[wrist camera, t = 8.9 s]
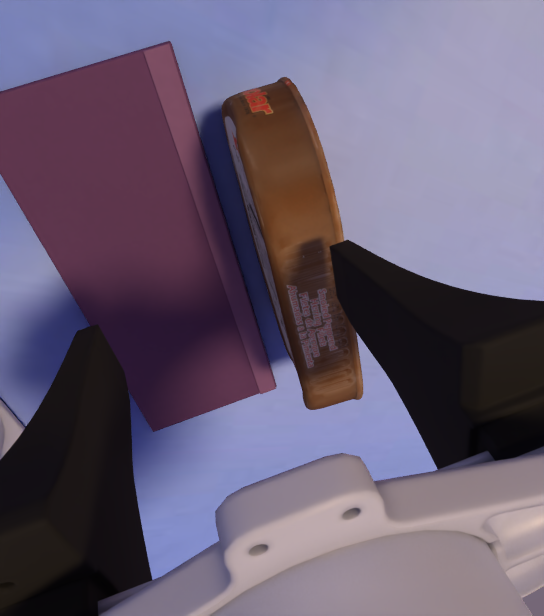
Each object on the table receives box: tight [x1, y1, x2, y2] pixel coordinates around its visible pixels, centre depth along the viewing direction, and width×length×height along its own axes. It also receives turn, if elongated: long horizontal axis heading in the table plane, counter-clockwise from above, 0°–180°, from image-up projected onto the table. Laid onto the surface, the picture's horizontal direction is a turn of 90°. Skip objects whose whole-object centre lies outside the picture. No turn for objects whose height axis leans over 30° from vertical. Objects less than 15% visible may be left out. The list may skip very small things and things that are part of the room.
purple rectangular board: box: [0, 41, 276, 432], centre depth 26 cm, size 8×20×1 cm, turn 12°
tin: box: [222, 77, 363, 410], centre depth 22 cm, size 15×3×8 cm, turn 12°
